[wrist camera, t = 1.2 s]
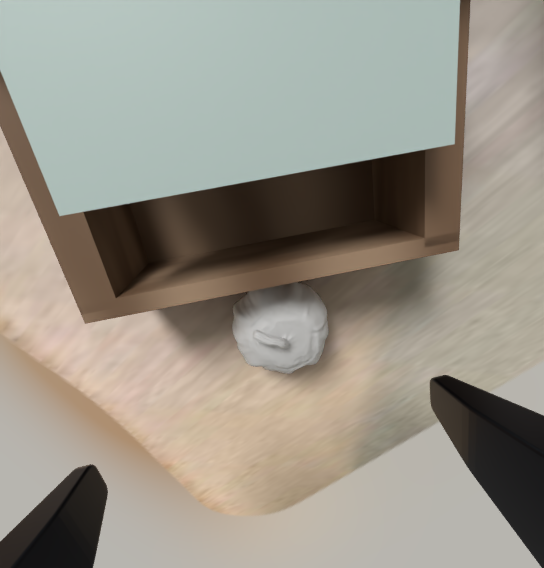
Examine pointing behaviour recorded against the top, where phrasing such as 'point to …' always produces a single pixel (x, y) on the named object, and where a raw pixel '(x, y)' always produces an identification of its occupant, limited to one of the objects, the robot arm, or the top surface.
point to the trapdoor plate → (222, 89)
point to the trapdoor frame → (253, 224)
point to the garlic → (281, 327)
